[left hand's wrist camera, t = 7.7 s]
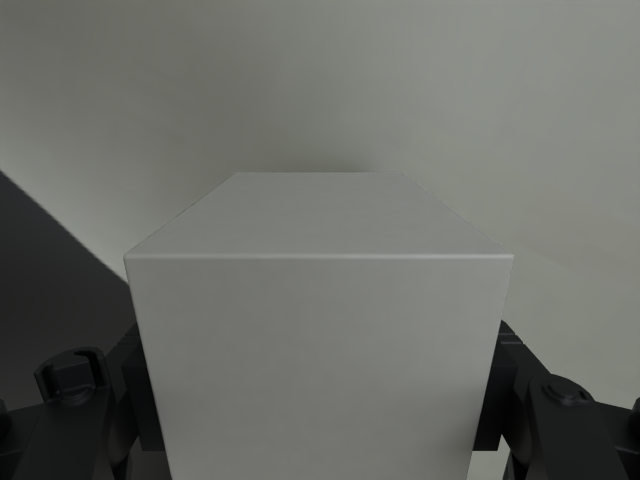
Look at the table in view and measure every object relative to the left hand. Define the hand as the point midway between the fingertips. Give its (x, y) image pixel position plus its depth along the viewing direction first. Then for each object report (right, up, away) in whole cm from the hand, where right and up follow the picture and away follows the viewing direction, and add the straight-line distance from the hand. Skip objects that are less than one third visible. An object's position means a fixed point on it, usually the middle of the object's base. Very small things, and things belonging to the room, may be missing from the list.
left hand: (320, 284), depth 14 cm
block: (0, +1, +3) cm, 3 cm away
